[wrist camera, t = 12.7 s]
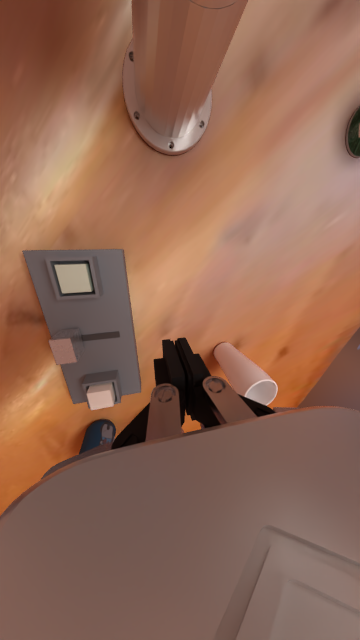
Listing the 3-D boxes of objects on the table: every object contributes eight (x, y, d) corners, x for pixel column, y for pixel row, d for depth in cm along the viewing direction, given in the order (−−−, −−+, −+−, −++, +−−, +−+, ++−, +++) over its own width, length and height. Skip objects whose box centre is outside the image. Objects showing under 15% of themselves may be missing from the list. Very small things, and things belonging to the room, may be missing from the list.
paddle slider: (59, 330, 29) (48, 340, 26) (78, 328, 30) (70, 338, 26) (66, 351, 31) (56, 364, 27) (84, 349, 31) (77, 362, 28)
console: (34, 251, 27) (7, 249, 22) (123, 249, 30) (119, 248, 25) (78, 393, 38) (67, 416, 33) (141, 383, 41) (141, 402, 35)
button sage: (63, 263, 26) (54, 264, 23) (91, 263, 27) (85, 264, 24) (69, 289, 28) (62, 293, 25) (96, 288, 28) (91, 291, 26)
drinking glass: (211, 364, 44) (243, 414, 30) (209, 342, 41) (243, 386, 27) (235, 358, 44) (277, 403, 31) (234, 335, 42) (279, 374, 28)
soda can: (87, 437, 43) (68, 499, 32) (87, 417, 41) (68, 476, 30) (115, 435, 45) (107, 493, 34) (117, 416, 43) (109, 471, 32)
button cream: (90, 382, 33) (86, 393, 30) (112, 379, 34) (110, 389, 31) (95, 397, 34) (91, 410, 32) (115, 394, 35) (113, 406, 32)
